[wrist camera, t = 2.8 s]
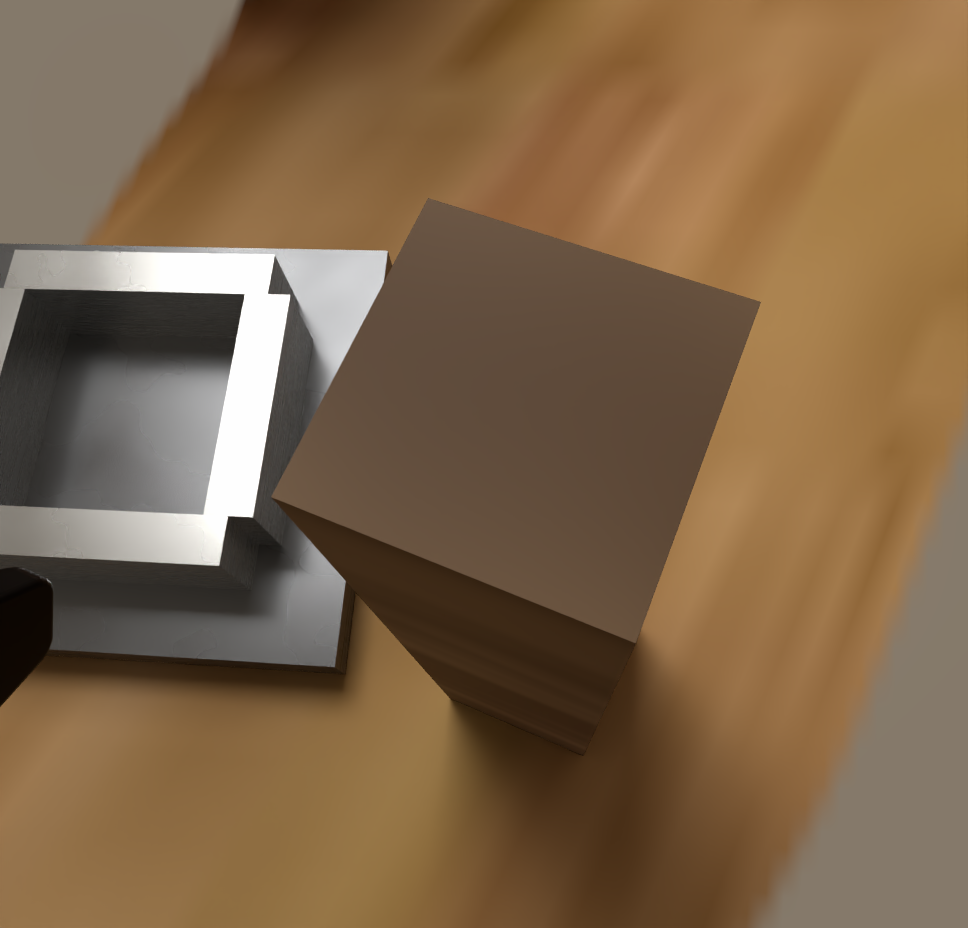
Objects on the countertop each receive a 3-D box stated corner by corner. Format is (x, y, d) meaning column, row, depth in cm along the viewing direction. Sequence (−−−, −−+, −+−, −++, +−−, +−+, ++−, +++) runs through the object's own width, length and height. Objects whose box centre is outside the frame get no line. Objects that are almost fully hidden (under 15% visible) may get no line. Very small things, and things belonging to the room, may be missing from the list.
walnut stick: (582, 755, 19) (636, 642, 7) (449, 697, 19) (271, 497, 7) (633, 620, 20) (761, 302, 7) (503, 569, 20) (427, 197, 8)
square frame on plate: (345, 673, 20) (310, 650, 17) (-92, 647, 20) (-194, 620, 18) (394, 273, 23) (372, 199, 20) (20, 265, 24) (-50, 193, 21)
